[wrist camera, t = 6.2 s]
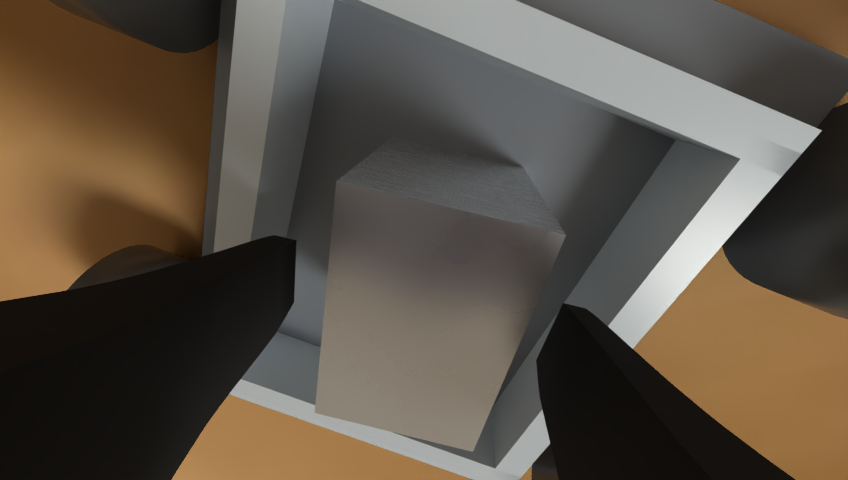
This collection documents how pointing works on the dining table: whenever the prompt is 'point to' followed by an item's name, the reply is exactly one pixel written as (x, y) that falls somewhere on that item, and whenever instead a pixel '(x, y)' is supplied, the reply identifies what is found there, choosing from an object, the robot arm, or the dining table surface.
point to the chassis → (517, 159)
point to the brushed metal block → (429, 289)
